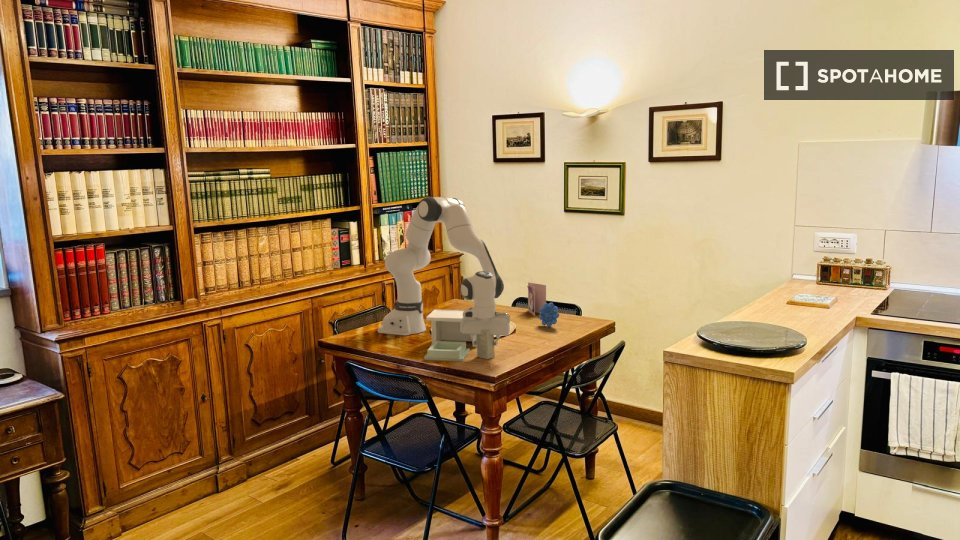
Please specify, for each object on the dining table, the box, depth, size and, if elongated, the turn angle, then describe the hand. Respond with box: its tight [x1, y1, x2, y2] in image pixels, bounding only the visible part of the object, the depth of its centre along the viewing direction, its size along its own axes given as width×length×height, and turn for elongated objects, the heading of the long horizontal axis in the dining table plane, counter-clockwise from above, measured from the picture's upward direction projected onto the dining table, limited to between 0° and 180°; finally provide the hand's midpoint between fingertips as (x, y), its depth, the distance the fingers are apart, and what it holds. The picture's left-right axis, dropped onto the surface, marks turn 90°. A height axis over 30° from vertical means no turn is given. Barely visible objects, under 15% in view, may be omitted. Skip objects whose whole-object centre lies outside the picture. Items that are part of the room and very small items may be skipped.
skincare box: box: [476, 330, 495, 360], centre depth 279 cm, size 6×4×12 cm
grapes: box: [538, 302, 560, 328], centre depth 324 cm, size 12×7×12 cm, turn 47°
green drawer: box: [423, 340, 470, 362], centre depth 283 cm, size 16×14×4 cm
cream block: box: [425, 308, 477, 348], centre depth 298 cm, size 22×14×14 cm, turn 79°
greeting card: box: [526, 282, 547, 317], centre depth 349 cm, size 11×7×15 cm, turn 13°
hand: (485, 344), depth 280 cm, fingers closed on skincare box, 7 cm apart
